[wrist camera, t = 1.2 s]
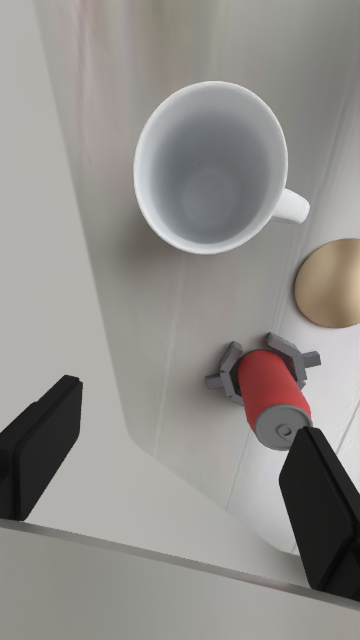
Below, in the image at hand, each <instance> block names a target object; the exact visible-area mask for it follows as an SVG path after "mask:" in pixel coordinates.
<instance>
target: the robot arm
mask: <svg viewBox="0 0 360 640" xmlns="http://www.w3.org/2000/svg"><path fill="white" fill-rule="evenodd" d="M82 389H83V383H82V382H80V381H79V378H78V377H74V376H69V375H64V376H63V377H62V378H61V379H60V380H59V381H58V382H57V383H56V384H55V385H54V386H53V387H52V388H51V389H49V391H47V393H45V394H44V395H43V396H42V397H41V398H40V399H39V400H38V401H37V402H33V403H32V404H30V405H29V406H28V407H27V408H26V409H25V410H24V411H23V412H22V413H21V414H20V415H19V416H18V417H17V418H16V419H15V420H13V421H12V422H11V423H10V424H9V425H8V426H7V427H6V428H5V429H4V430H3V431H2V432H1V433H0V640H360V494H359V492H358V491H357V489H356V487H355V486H354V484H353V482H352V481H351V479H350V478H349V476H348V474H347V473H346V471H345V469H344V468H343V466H342V464H341V463H340V461H339V459H338V458H337V456H336V454H335V453H334V451H333V449H332V448H331V446H330V444H329V443H328V441H327V439H326V438H325V436H324V434H323V433H322V431H321V430H320V429H318V428H314V427H309V426H303V427H302V429H301V428H299V429H298V431H297V433H296V436H295V438H294V441H293V443H292V445H291V448H290V450H289V453H288V455H287V458H286V460H285V463H284V465H283V468H282V470H281V472H280V475H279V486H280V489H281V492H282V496H283V499H284V502H285V506H286V509H287V512H288V516H289V519H290V522H291V526H292V529H293V532H294V536H295V539H296V542H297V546H298V549H299V552H300V556H301V559H302V562H303V566H304V569H305V572H306V576H307V579H308V582H309V585H310V587H311V588H312V589H310V588H306V587H302V586H298V585H294V584H290V583H286V582H281V581H277V580H273V579H269V578H265V577H261V576H257V575H252V574H248V573H244V572H240V571H236V570H231V569H227V568H223V567H219V566H215V565H211V564H206V563H202V562H198V561H194V560H189V559H185V558H181V557H177V556H172V555H168V554H163V553H160V552H155V551H151V550H147V549H142V548H138V547H133V546H129V545H125V544H121V543H116V542H111V541H107V540H103V539H98V538H94V537H90V536H85V535H81V534H77V533H72V532H68V531H63V530H59V529H54V528H49V527H44V526H39V525H34V524H29V523H25V522H20V521H24V520H25V519H26V518H27V517H28V515H29V514H30V512H31V511H32V509H33V508H34V506H35V504H36V503H37V501H38V500H39V498H40V497H41V495H42V494H43V492H44V490H45V489H46V487H47V486H48V484H49V483H50V481H51V479H52V478H53V476H54V475H55V473H56V472H57V470H58V469H59V467H60V465H61V464H62V462H63V461H64V459H65V458H66V456H67V454H68V453H69V451H70V450H71V448H72V447H73V445H74V444H75V442H76V440H77V438H78V436H79V432H80V420H81V404H82Z"/></svg>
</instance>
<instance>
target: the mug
mask: <svg viewBox="0 0 360 640" xmlns="http://www.w3.org/2000/svg"><path fill="white" fill-rule="evenodd" d="M287 171H288V152H287V146H286V141H285V137H284V134H283V132H282V129H281V126H280V124H279V122H278V120H277V118H276V116H275V115H274V113H273V112H272V110H271V109H270V108H269V107H268V106H267V104H266V103H265V102H264V101H263V100H262V99H261V98H259V97H258V96H257V95H256V94H254V93H253V92H251V91H250V90H248V89H246V88H244V87H242V86H239V85H236V84H233V83H229V82H221V81H208V82H200V83H196V84H193V85H190V86H187V87H184V88H182V89H181V90H179V91H177V92H175V93H173V94H172V95H171V96H169V97H168V98H167V99H166V100H164V101H163V102H162V103H161V104H160V105H159V106H158V107H157V108H156V110H155V111H154V112H153V113H152V115H151V116H150V118H149V119H148V121H147V122H146V124H145V126H144V128H143V130H142V132H141V135H140V137H139V140H138V143H137V146H136V150H135V155H134V162H133V184H134V190H135V195H136V199H137V202H138V205H139V208H140V210H141V212H142V214H143V216H144V218H145V220H146V221H147V223H148V224H149V225H150V227H151V228H152V229H153V231H154V232H155V233H156V234H157V235H158V236H159V237H160V238H162V239H163V240H164V241H166V242H167V243H168V244H170V245H172V246H173V247H175V248H177V249H180V250H182V251H185V252H189V253H193V254H201V255H211V254H218V253H222V252H226V251H229V250H231V249H234V248H236V247H238V246H240V245H242V244H243V243H245V242H247V241H248V240H250V239H251V238H252V237H253V236H255V235H256V234H257V233H258V232H259V231H260V230H261V229H262V228H263V227H264V226H265V225H266V223H267V222H268V221H269V220H273V221H278V222H283V223H289V224H301V223H303V221H304V220H305V219H306V217H307V215H308V212H309V207H310V206H309V203H308V201H307V200H305V199H304V198H303V197H301V196H299V195H298V194H296V193H294V192H292V191H290V190H288V189H286V188H285V184H286V180H287Z"/></svg>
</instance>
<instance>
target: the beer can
mask: <svg viewBox="0 0 360 640" xmlns="http://www.w3.org/2000/svg"><path fill="white" fill-rule="evenodd" d="M237 374H238V380H239V384H240V389H241V394H242V398H243V403H244V408H245V413H246V417H247V421H248V423H249V425H250V427H251V428H252V430H253V432H254V433H255V435H256V437H257V438H258V440H259V441H260V442H261V443H262V444H263V445H264V446H266V447H268V448H270V449H273V450H279V451H287V450H290V448H291V445H292V443H293V441H294V438H295V436H296V433H297V431H298V429H299V428H301V429H302V427H303V426H309V427H313V423H312V420H311V411H310V407H309V405H308V403H307V401H306V399H305V397H304V396H303V394H302V392H301V391H300V389H299V387H298V386H297V384H296V382H295V381H294V379H293V377H292V376H291V374H290V372H289V371H288V369H287V367H286V366H285V364H284V362H283V361H282V359H281V358H280V357H279V356H278V355H277V354H275V353H273V352H271V351H266V350H258V351H253V352H251V353H249V354H247V355H246V356H245V357H243V358H242V359H241V361H240V363H239V364H238V369H237Z"/></svg>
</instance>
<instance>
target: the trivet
mask: <svg viewBox="0 0 360 640" xmlns="http://www.w3.org/2000/svg"><path fill="white" fill-rule="evenodd" d="M294 292H295V299H296V302H297V305H298V307H299V309H300V310H301V312H302V313H303V314H304V315H305V316H306V317H307V318H308V319H310V320H311V321H312V322H314V323H316V324H318V325H320V326H324V327H328V328H345V327H350V326H353V325H356V324H358V323H360V239H341V240H336V241H333V242H330V243H328V244H326V245H324V246H322V247H320V248H319V249H317V250H316V251H315V252H313V253H312V254H311V255H310V256H309V257H308V258H307V259H306V261H305V262H304V263H303V265H302V266H301V268H300V270H299V272H298V274H297V277H296V281H295V290H294Z"/></svg>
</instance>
